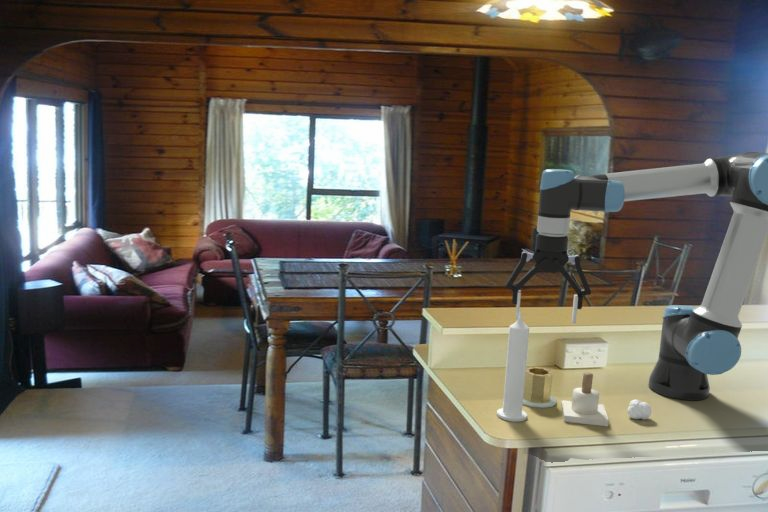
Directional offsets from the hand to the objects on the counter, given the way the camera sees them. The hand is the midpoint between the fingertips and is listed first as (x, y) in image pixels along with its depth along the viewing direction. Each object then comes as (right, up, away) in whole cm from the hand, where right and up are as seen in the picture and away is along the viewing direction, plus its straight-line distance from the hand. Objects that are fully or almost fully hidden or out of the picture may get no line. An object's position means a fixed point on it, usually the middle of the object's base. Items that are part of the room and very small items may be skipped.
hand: (545, 319), depth 182 cm
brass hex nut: (-2, -20, +3) cm, 20 cm away
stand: (+8, -23, -5) cm, 24 cm away
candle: (-9, -22, -7) cm, 25 cm away
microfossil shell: (+21, -23, -4) cm, 32 cm away
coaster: (-2, -21, +4) cm, 21 cm away
